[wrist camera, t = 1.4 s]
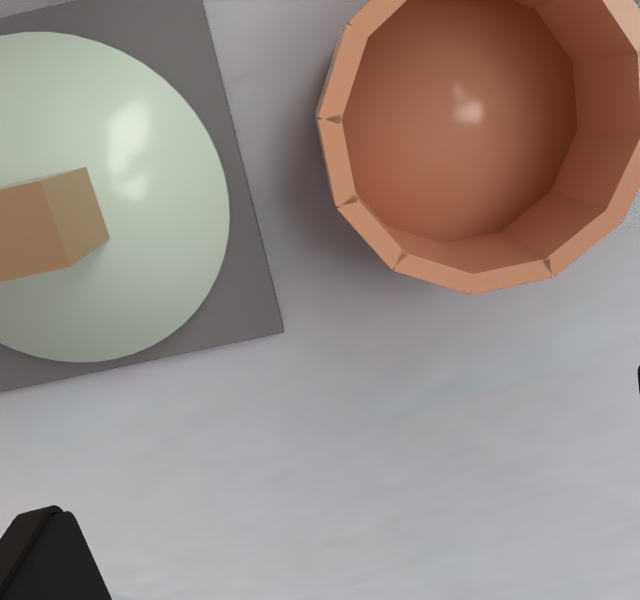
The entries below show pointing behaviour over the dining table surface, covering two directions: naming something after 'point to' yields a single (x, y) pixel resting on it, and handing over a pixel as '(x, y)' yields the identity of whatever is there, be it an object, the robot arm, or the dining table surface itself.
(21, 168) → the lid
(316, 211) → the dining table surface
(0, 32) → the mat
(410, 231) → the bowl
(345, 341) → the dining table surface
